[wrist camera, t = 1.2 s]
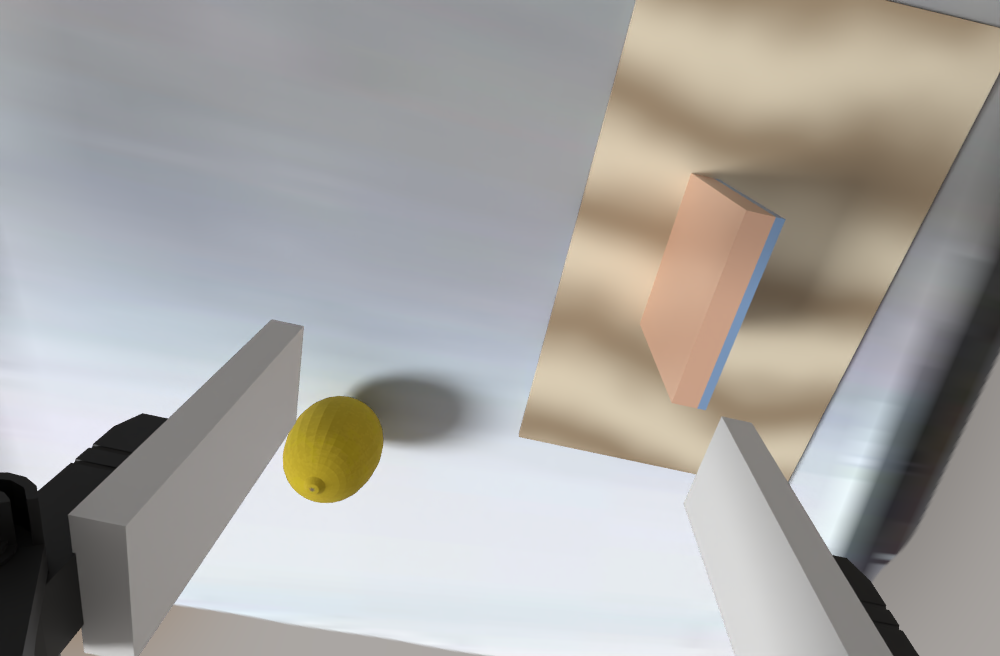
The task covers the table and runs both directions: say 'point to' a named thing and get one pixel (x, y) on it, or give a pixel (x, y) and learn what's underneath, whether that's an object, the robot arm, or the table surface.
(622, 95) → the board
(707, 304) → the tile
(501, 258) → the table surface
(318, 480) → the lemon
